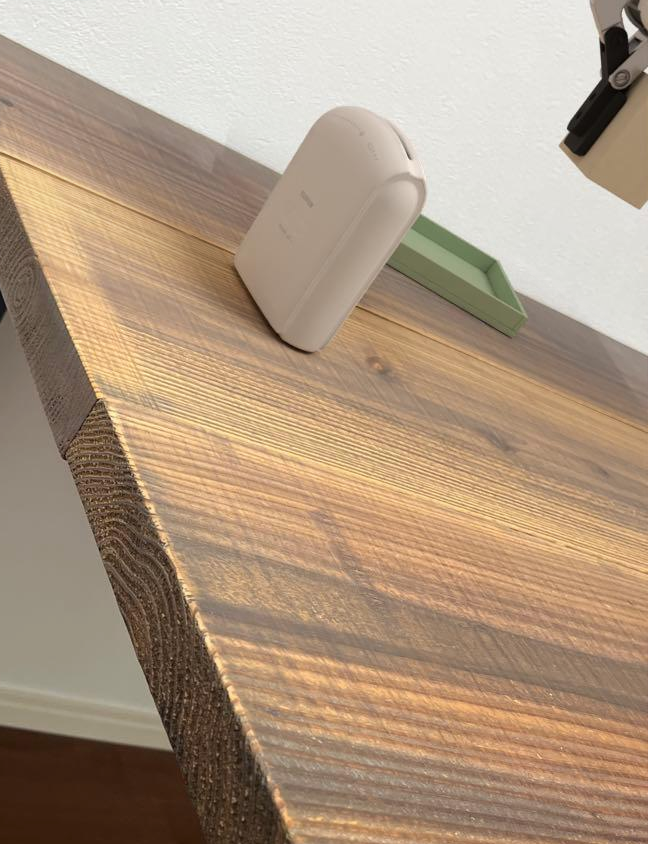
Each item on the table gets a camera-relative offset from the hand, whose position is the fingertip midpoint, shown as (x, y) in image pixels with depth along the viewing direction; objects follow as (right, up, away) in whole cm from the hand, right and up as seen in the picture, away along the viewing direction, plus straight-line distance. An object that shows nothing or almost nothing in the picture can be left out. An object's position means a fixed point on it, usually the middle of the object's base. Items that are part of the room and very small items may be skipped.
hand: (605, 166), depth 65 cm
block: (0, 0, 0) cm, 1 cm away
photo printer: (-21, -9, 0) cm, 23 cm away
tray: (-2, +1, +29) cm, 29 cm away
